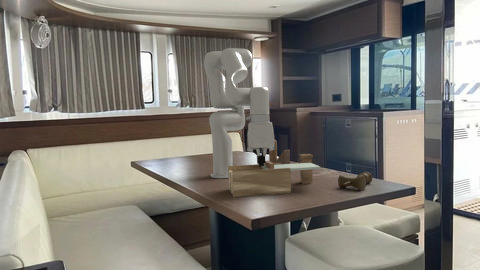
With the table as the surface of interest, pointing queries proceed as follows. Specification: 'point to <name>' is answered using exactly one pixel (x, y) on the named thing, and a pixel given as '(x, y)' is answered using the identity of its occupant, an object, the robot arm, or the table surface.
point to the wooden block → (283, 157)
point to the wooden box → (258, 180)
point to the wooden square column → (306, 174)
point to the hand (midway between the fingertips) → (261, 165)
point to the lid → (291, 166)
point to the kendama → (355, 181)
